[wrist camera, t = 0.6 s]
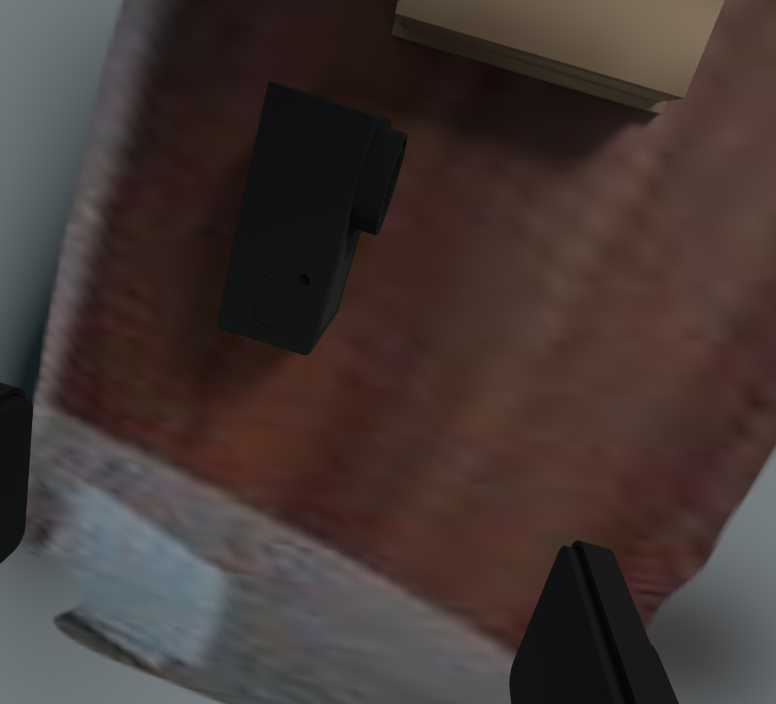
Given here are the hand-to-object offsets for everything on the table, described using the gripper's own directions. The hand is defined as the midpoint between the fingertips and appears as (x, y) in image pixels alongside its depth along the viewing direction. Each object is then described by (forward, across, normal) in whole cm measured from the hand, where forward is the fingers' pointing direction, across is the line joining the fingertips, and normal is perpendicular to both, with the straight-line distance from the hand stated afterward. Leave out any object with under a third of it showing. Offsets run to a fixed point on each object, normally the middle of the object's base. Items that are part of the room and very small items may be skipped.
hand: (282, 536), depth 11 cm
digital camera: (+23, +4, -2) cm, 24 cm away
